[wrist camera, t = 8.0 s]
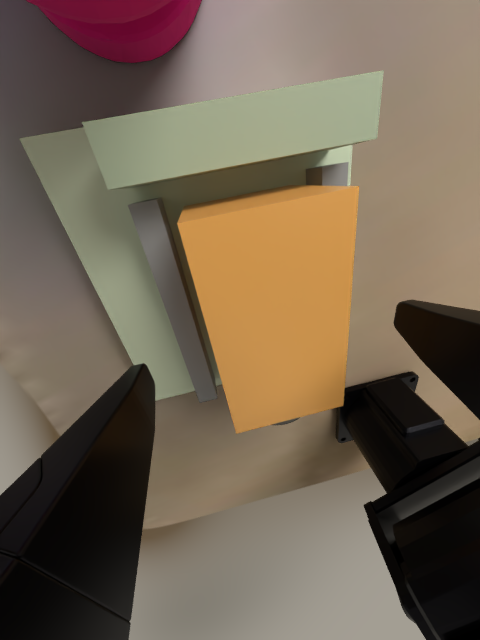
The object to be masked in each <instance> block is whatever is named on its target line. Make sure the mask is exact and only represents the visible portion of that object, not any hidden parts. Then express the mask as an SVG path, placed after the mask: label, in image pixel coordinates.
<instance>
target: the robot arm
mask: <svg viewBox="0 0 480 640" xmlns="http://www.w3.org/2000/svg"><path fill="white" fill-rule="evenodd" d="M394 326H395V328H396V330H397V331H398V332H399V333H400V335H401V336H402V337H403V338H404V340H405V341H406V342H407V343H408V344H409V346H410V347H411V348H412V349H413V351H414V352H415V353H416V354H417V356H418V357H419V358H420V359H421V360H422V361H423V362H424V364H425V365H426V366H427V367H428V368H429V369H430V370H431V371H432V372H433V373H434V374H435V375H436V376H437V377H438V378H439V379H440V380H441V381H442V382H443V383H444V384H445V385H446V386H447V387H448V388H449V389H450V390H451V391H452V392H453V393H454V394H455V395H456V396H457V397H458V398H459V399H460V400H461V401H462V402H463V403H464V404H465V405H466V406H467V407H468V408H469V409H470V410H471V411H472V412H473V414H474V415H475V416H476V417H477V418H478V419H479V420H480V311H477V310H471V309H465V308H459V307H453V306H447V305H441V304H435V303H429V302H423V301H417V300H407V301H402V302H400V303H398V305H397V307H396V313H395V318H394ZM418 378H419V377H418V375H417V374H415V373H414V372H407V373H403V374H399V375H395V376H391V377H388V378H384V379H380V380H376V381H372V382H368V383H364V384H360V385H356V386H352V387H348V388H345V390H344V404H343V406H341V407H337V424H336V439H337V440H338V442H339V443H344V442H348V441H351V440H354V442H355V443H356V445H357V446H358V448H359V450H360V451H361V453H362V454H363V456H364V457H365V459H366V461H367V462H368V464H369V465H370V467H371V469H372V470H373V472H374V473H375V475H376V477H377V478H378V480H379V481H380V483H381V485H382V486H383V488H384V489H385V491H386V493H387V494H386V495H384V496H382V497H380V498H379V499H377V500H375V501H374V502H371V501H370V502H368V503H366V504H365V505H364V508H365V510H366V513H367V515H368V516H367V517H368V518H369V520H368V521H369V524H370V526H371V529H372V531H373V534H374V536H375V538H376V541H377V543H378V546H379V548H380V551H381V553H382V555H383V558H384V560H385V563H386V565H387V568H388V570H389V572H390V575H391V577H392V580H393V582H394V584H395V587H396V590H397V593H398V596H399V600H400V603H401V606H402V608H403V610H404V612H405V614H406V616H407V617H408V618H409V619H410V620H412V621H413V622H414V623H416V624H417V626H418V627H419V629H420V630H421V632H422V634H423V635H424V637H425V638H426V640H480V438H478V440H479V441H477V442H475V443H474V444H472V445H470V446H468V445H467V444H466V443H465V442H464V441H463V440H461V439H460V438H459V437H458V436H457V435H456V434H455V433H454V432H453V431H452V430H451V429H450V428H449V427H448V426H447V425H446V424H445V423H444V420H443V418H442V417H441V416H439V415H438V414H437V413H436V412H435V411H434V410H433V409H432V408H431V407H430V406H429V405H428V404H427V403H426V402H425V401H424V400H422V399H421V398H420V397H419V396H418V395H417V394H416V393H415V389H416V385H417V382H418ZM154 433H155V382H154V379H153V377H152V375H151V373H150V371H149V369H148V367H147V365H146V364H144V363H142V364H137V365H133V366H131V367H130V368H129V369H128V370H127V371H126V372H125V373H124V374H123V375H122V376H121V377H120V378H119V379H118V380H117V381H116V382H115V383H114V384H113V385H112V386H111V387H110V388H109V389H108V390H107V391H106V392H105V393H104V394H103V395H102V396H101V397H100V398H99V399H98V400H97V401H96V402H95V403H94V404H93V405H92V406H91V407H90V408H89V409H88V410H87V411H86V412H85V413H84V414H83V415H82V416H81V417H80V418H79V419H78V420H77V421H76V422H75V423H74V424H73V425H72V426H71V427H70V428H69V429H68V430H67V431H66V432H65V433H64V434H63V435H62V436H61V437H60V438H59V439H58V440H57V441H56V442H55V443H53V445H52V446H51V447H50V448H48V449H47V450H46V451H45V452H44V453H43V454H42V456H41V458H39V459H37V460H36V461H35V462H34V463H33V464H32V465H31V466H30V467H29V468H28V469H27V470H26V471H25V472H24V473H23V474H22V475H21V476H20V477H19V478H18V479H17V480H16V481H15V482H14V483H13V484H12V485H11V486H10V487H9V488H7V489H6V490H5V491H4V492H3V493H2V494H1V495H0V640H128V638H129V630H130V622H129V621H130V620H131V613H132V606H133V598H134V590H135V583H136V575H137V567H138V559H139V551H140V543H141V536H142V528H143V520H144V512H145V504H146V497H147V489H148V481H149V473H150V465H151V457H152V450H153V442H154Z"/></svg>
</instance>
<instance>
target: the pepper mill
mask: <svg viewBox="0 0 480 640" xmlns="http://www.w3.org/2000/svg"><path fill="white" fill-rule="evenodd" d="M26 1H27V2H29V3H32V4H34V5H36V6H38V7H39V9H40V10H41V11H42V12H43V13H44V14H45V15H46V16H47V17H48V18H49V19H50V21H51V22H52V23H53V24H54V25H55V26H56V27H58V28H59V29H60V30H61V31H62V32H63V33H65V34H66V35H67V36H68V37H69V38H71V39H72V40H73V41H75V42H76V43H77V44H78V45H80V46H81V47H83V48H85V49H87V50H89V51H90V52H92V53H94V54H96V55H98V56H101V57H104V58H106V59H109V60H112V61H117V62H127V63H136V62H143V61H150V60H153V59H155V58H158V57H160V56H162V55H164V54H165V53H167V52H168V51H170V50H171V49H172V48H173V47H174V46H175V45H176V44H177V43H178V42H179V41H180V40H181V39H182V38H183V37H184V35H185V34H186V33H187V31H188V30H189V28H190V26H191V24H192V23H193V21H194V18H195V16H196V13H197V11H198V8H199V6H200V3H201V1H202V0H26Z"/></svg>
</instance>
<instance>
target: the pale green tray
mask: <svg viewBox="0 0 480 640" xmlns="http://www.w3.org/2000/svg"><path fill="white" fill-rule="evenodd" d="M383 72H384V70H383V71H377V72H371V73H365V74H359V75H354V76H348V77H342V78H336V79H330V80H325V81H319V82H313V83H307V84H301V85H296V86H290V87H284V88H278V89H272V90H267V91H261V92H255V93H249V94H243V95H238V96H232V97H226V98H220V99H214V100H209V101H203V102H197V103H191V104H185V105H180V106H174V107H168V108H162V109H156V110H151V111H145V112H139V113H133V114H128V115H122V116H116V117H110V118H104V119H99V120H93V121H87V122H82V124H83V127H82V128H76V129H70V130H64V131H59V132H53V133H47V134H41V135H36V136H30V137H24V138H19V140H20V141H21V143H22V145H23V147H24V149H25V151H26V153H27V155H28V157H29V159H30V161H31V163H32V165H33V167H34V169H35V171H36V173H37V175H38V177H39V179H40V181H41V183H42V185H43V187H44V189H45V191H46V193H47V195H48V197H49V199H50V201H51V203H52V205H53V207H54V209H55V211H56V213H57V215H58V216H59V218H60V220H61V222H62V224H63V226H64V228H65V230H66V232H67V234H68V236H69V238H70V240H71V242H72V244H73V246H74V248H75V250H76V252H77V254H78V256H79V258H80V260H81V262H82V264H83V266H84V268H85V270H86V272H87V274H88V276H89V278H90V280H91V282H92V284H93V286H94V288H95V290H96V291H97V293H98V295H99V297H100V299H101V301H102V303H103V305H104V307H105V309H106V311H107V313H108V315H109V317H110V319H111V321H112V323H113V325H114V327H115V329H116V331H117V333H118V335H119V337H120V339H121V341H122V343H123V345H124V347H125V349H126V351H127V353H128V355H129V357H130V359H131V361H132V363H133V365H137V364H142V363H144V364H146V365H147V367H148V369H149V371H150V373H151V375H152V377H153V379H154V382H155V401H157V400H161V399H165V398H169V397H173V396H177V395H181V394H185V393H189V392H193V391H196V394H197V397H198V400H199V402H200V403H201V402H205V401H209V400H213V399H217V390H216V386H217V385H221V384H222V381H221V377H220V374H219V370H218V367H217V363H216V360H215V356H214V352H213V349H212V345H211V342H210V338H209V335H208V331H207V328H206V324H205V320H204V317H203V313H202V310H201V306H200V303H199V299H198V296H197V292H196V289H195V285H194V281H193V278H192V274H191V271H190V267H189V264H188V260H187V257H186V253H185V249H184V246H183V242H182V239H181V235H180V232H179V228H178V225H177V223H178V220H179V217H180V215H181V212H182V210H183V207H184V206H187V205H192V204H197V203H202V202H207V201H212V200H217V199H222V198H227V197H232V196H237V195H242V194H247V193H252V192H257V191H262V190H267V189H272V188H277V187H282V186H287V185H316V186H350V179H351V161H352V145H353V144H357V143H361V142H365V141H369V140H373V139H377V134H378V123H379V113H380V103H381V93H382V82H383Z"/></svg>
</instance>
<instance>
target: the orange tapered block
mask: <svg viewBox="0 0 480 640" xmlns="http://www.w3.org/2000/svg"><path fill="white" fill-rule="evenodd" d="M358 194H359V186H316V185H287V186H282V187H277V188H272V189H267V190H262V191H257V192H252V193H247V194H242V195H237V196H232V197H227V198H222V199H217V200H212V201H207V202H202V203H197V204H192V205H187V206H184V207H183V210H182V212H181V215H180V217H179V220H178V223H177V225H178V228H179V232H180V235H181V239H182V242H183V246H184V249H185V253H186V257H187V260H188V264H189V267H190V271H191V274H192V278H193V281H194V285H195V289H196V292H197V296H198V299H199V303H200V306H201V310H202V313H203V317H204V320H205V324H206V328H207V331H208V335H209V338H210V342H211V345H212V349H213V352H214V356H215V360H216V363H217V367H218V370H219V374H220V377H221V381H222V384H223V388H224V392H225V395H226V399H227V402H228V406H229V409H230V413H231V416H232V420H233V424H234V427H235V431H236V434H237V433H241V432H245V431H249V430H253V429H256V428H260V427H264V426H268V425H283V424H288V423H291V422H293V421H295V420H297V419H299V418H300V417H302V416H306V415H310V414H314V413H318V412H322V411H325V410H329V409H333V408H337V407H341V406H343V404H344V390H345V376H346V362H347V348H348V334H349V320H350V306H351V292H352V278H353V264H354V250H355V236H356V222H357V208H358Z"/></svg>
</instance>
